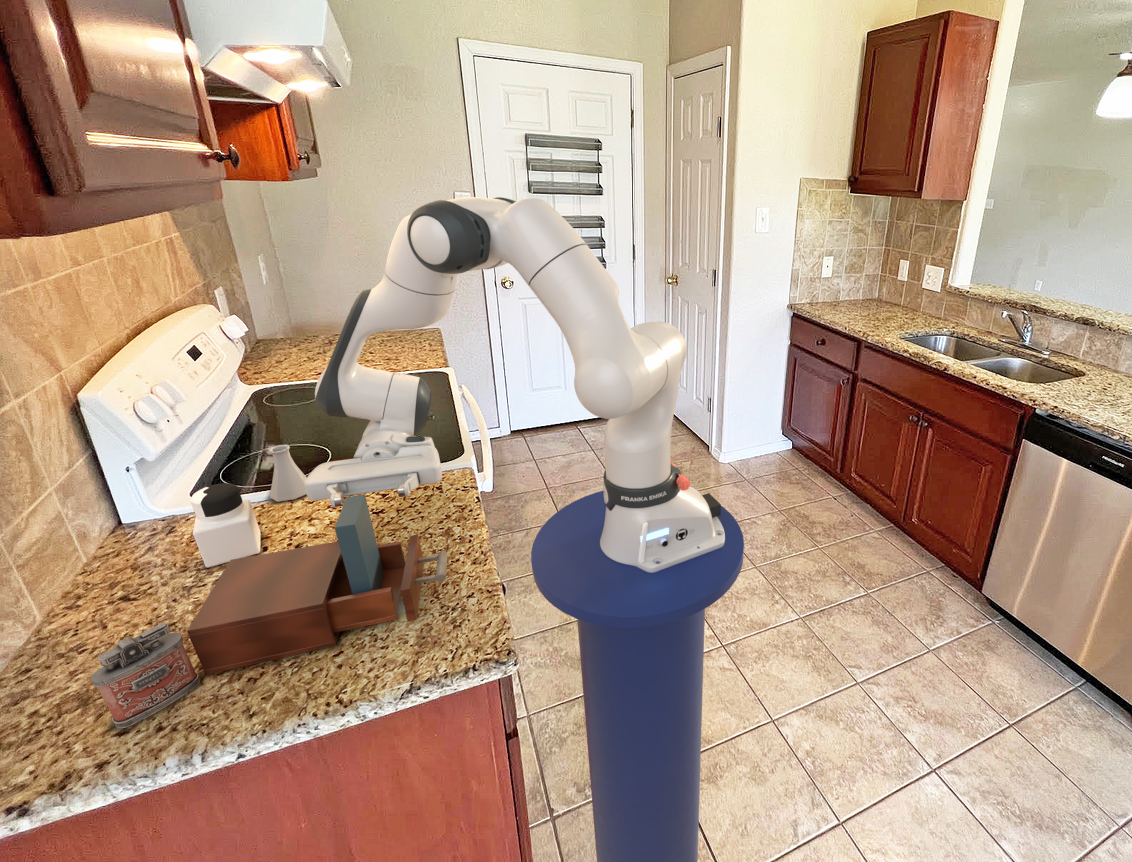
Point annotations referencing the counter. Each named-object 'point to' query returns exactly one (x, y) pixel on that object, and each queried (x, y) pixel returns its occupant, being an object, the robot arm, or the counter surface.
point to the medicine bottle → (224, 524)
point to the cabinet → (267, 608)
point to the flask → (286, 476)
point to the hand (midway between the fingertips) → (370, 498)
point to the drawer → (384, 588)
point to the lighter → (144, 675)
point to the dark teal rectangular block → (359, 546)
